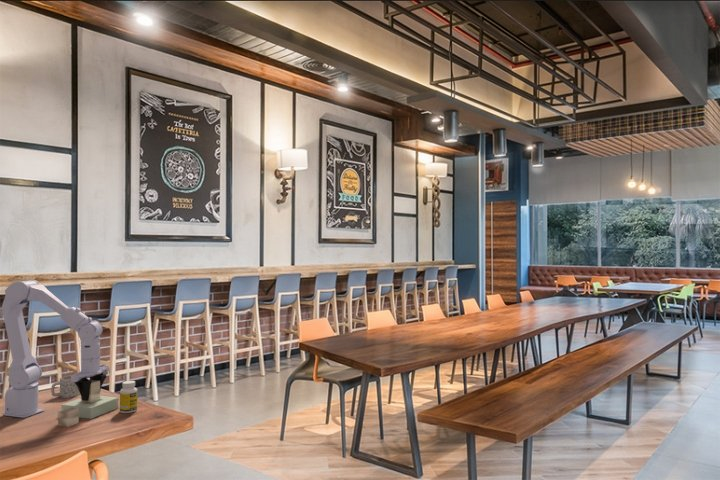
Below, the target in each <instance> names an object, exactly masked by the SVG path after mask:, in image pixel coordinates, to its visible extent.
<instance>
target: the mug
mask: <svg viewBox="0 0 720 480" xmlns="http://www.w3.org/2000/svg"><path fill="white" fill-rule="evenodd" d="M72 375H73V374H72ZM72 375H66V376H61V377H60V378H59V381H57V382H53V383H52V384H51V390H50V391H51V392H50V393H51V396H52V397H59V398H61V397H62V399H67V398H68V399H69V398H75V397H79V396H81V395H80V392H79V389H78V387H77V386H76V384H75V383H74V382H71V376H72ZM56 386H59V392H57V393H56V392H55V389H56V388H55V387H56Z"/></svg>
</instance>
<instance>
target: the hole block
mask: <svg viewBox="0 0 720 480" xmlns="http://www.w3.org/2000/svg"><path fill="white" fill-rule="evenodd" d="M68 407H70V408H79V419H80V418H82V419H89V420H91V419H94V418H96V417H99V416H102V415H105V414H106V413H110V412H112V411H113V410H117V409H118V408H119V397H115V396H106V395H100V401H98V402H95V403H93V404H84V403H81V397H79V398H76V399H74V400H71V401H68V402H65V403H63V404H61V410H63V409H65V408H68Z"/></svg>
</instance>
